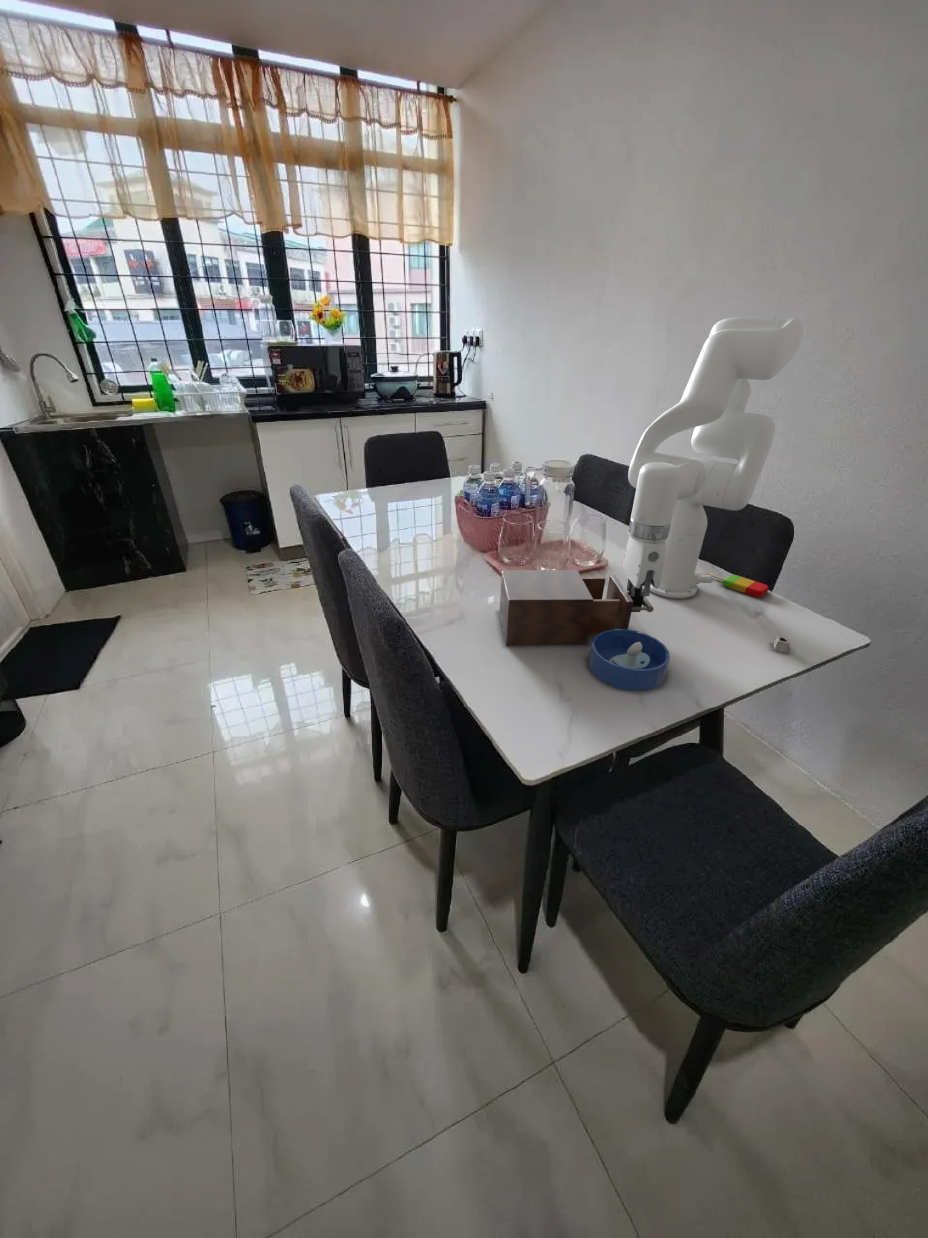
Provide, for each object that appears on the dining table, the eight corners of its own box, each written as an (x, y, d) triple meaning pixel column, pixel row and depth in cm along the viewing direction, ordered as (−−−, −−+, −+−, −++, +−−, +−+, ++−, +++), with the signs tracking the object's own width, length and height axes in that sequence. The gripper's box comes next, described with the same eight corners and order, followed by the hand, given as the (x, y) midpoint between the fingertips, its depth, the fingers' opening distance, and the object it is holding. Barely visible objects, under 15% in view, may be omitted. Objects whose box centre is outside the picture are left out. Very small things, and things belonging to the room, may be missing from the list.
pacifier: (601, 663, 97) (622, 679, 92) (605, 635, 94) (627, 651, 89) (629, 654, 100) (652, 669, 95) (634, 627, 97) (658, 641, 92)
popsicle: (759, 599, 122) (762, 592, 121) (699, 579, 131) (701, 572, 130) (768, 592, 125) (770, 585, 124) (708, 573, 134) (710, 566, 133)
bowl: (648, 647, 103) (653, 628, 100) (676, 690, 91) (682, 670, 88) (581, 648, 102) (584, 629, 100) (599, 691, 90) (603, 671, 88)
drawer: (633, 609, 115) (640, 574, 110) (653, 638, 104) (662, 601, 99) (541, 610, 114) (545, 575, 109) (551, 639, 103) (556, 602, 99)
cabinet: (571, 612, 115) (577, 570, 110) (586, 644, 103) (593, 599, 98) (499, 612, 114) (501, 570, 109) (505, 645, 103) (509, 599, 97)
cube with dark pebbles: (774, 650, 102) (778, 640, 101) (773, 645, 104) (777, 635, 103) (786, 652, 102) (790, 642, 100) (785, 647, 103) (789, 637, 102)
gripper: (683, 543, 92) (662, 628, 101) (654, 516, 105) (637, 594, 114) (642, 543, 92) (625, 628, 101) (618, 516, 104) (605, 594, 114)
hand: (631, 610), depth 107 cm, fingers closed
